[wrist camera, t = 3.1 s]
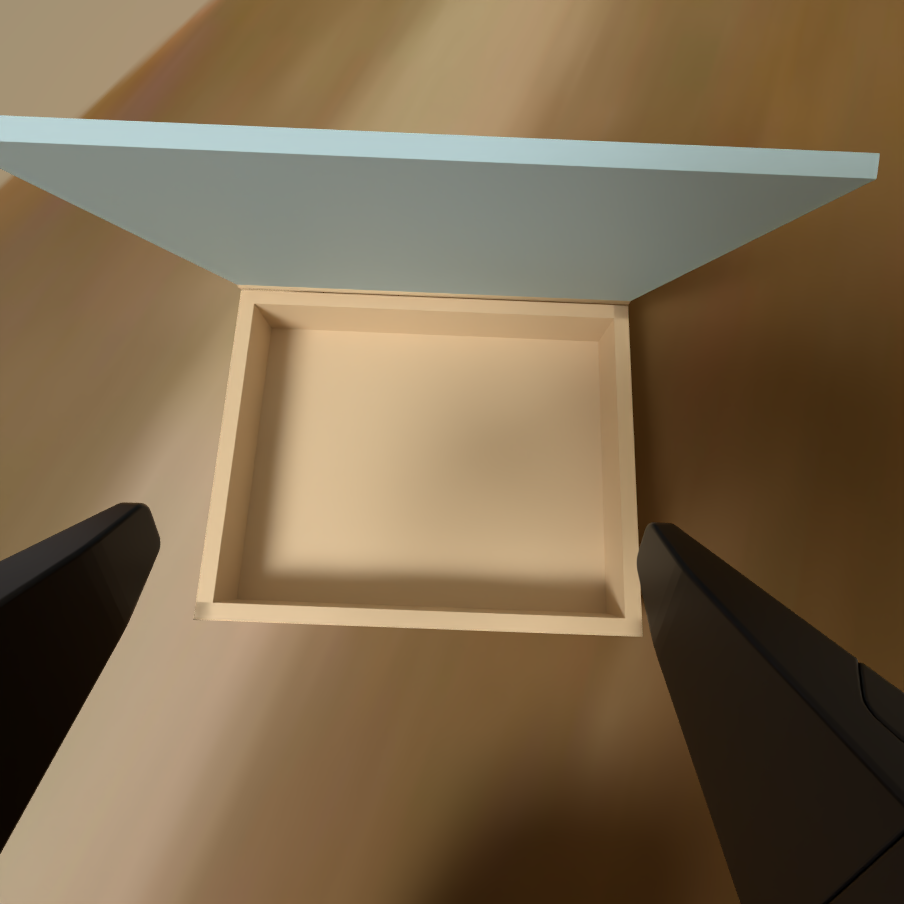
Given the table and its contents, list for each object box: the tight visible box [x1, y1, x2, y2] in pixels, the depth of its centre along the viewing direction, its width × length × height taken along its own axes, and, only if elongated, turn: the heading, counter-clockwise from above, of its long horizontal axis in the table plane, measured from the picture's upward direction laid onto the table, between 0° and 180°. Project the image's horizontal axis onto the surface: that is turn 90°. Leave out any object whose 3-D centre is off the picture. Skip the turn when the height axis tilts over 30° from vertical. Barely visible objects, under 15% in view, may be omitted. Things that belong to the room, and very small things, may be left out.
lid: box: [0, 115, 880, 305], centre depth 15 cm, size 12×16×1 cm
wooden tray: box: [193, 290, 643, 637], centre depth 21 cm, size 13×16×2 cm
